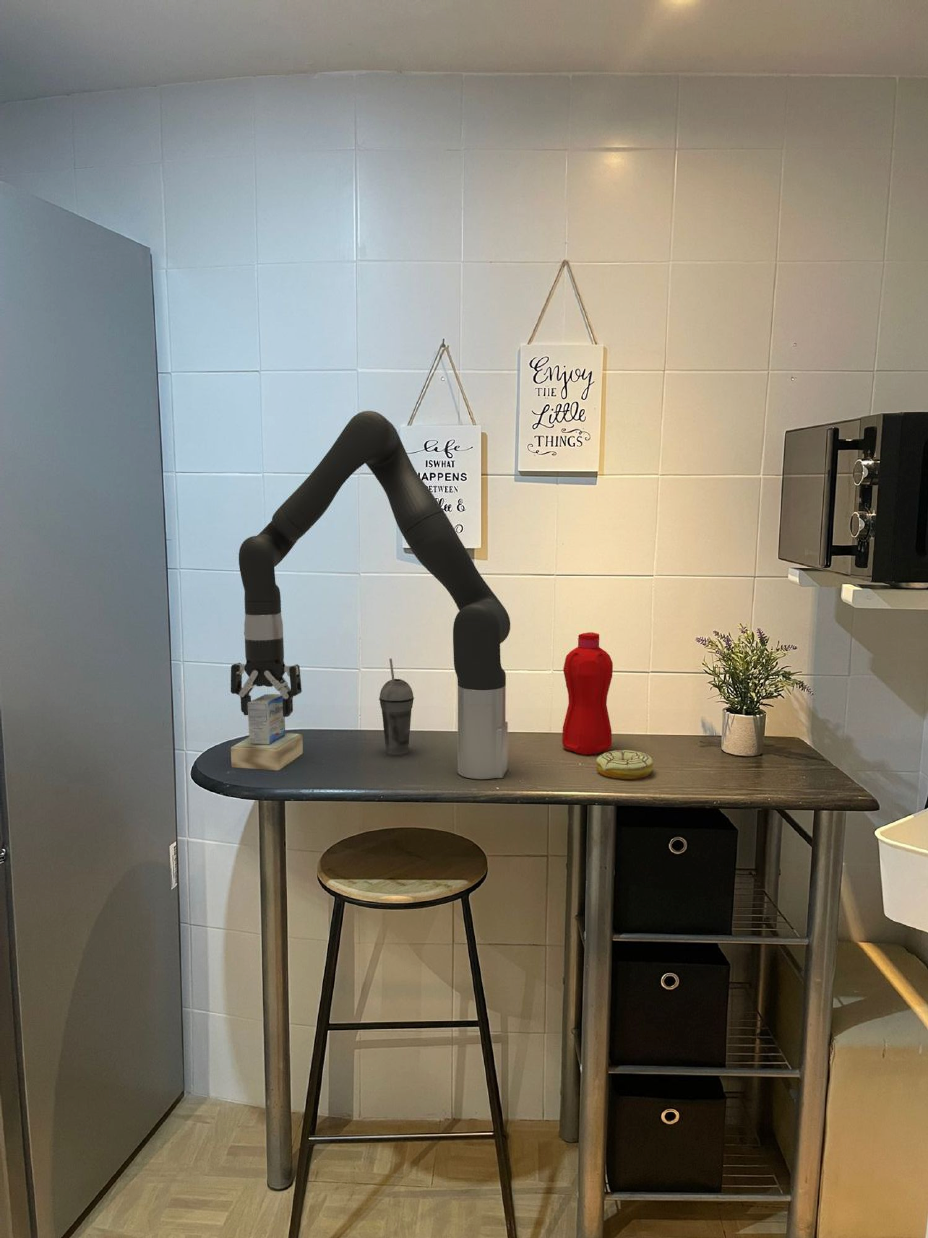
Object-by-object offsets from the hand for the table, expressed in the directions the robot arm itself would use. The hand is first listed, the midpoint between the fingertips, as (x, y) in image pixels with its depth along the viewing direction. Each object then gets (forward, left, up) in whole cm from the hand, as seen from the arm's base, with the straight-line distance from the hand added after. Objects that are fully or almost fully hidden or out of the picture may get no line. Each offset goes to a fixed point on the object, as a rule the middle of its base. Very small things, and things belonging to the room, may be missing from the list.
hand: (267, 715), depth 176 cm
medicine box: (0, 0, -5) cm, 5 cm away
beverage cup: (-24, -11, -10) cm, 28 cm away
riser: (0, 0, -9) cm, 9 cm away
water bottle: (-62, -22, -10) cm, 66 cm away
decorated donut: (-71, -7, -10) cm, 72 cm away
